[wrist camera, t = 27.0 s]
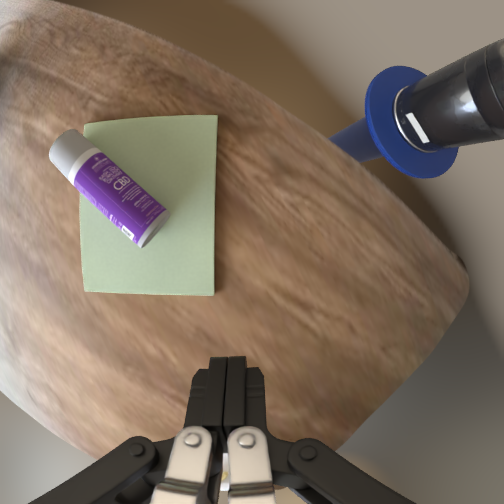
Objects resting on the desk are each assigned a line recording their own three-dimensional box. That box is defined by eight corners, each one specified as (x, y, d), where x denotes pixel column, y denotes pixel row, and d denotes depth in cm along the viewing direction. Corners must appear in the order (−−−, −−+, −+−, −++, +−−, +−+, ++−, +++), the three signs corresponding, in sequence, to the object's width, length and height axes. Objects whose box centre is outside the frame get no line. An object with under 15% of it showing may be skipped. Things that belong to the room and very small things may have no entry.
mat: (217, 116, 30) (217, 114, 30) (214, 294, 33) (214, 295, 33) (86, 124, 29) (84, 123, 28) (86, 289, 32) (84, 291, 31)
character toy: (228, 479, 34) (224, 502, 35) (228, 464, 38) (224, 489, 39) (175, 474, 33) (177, 498, 35) (177, 460, 37) (178, 484, 38)
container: (159, 220, 26) (59, 128, 23) (134, 255, 27) (42, 165, 25) (176, 208, 30) (85, 127, 28) (152, 239, 32) (67, 159, 29)
